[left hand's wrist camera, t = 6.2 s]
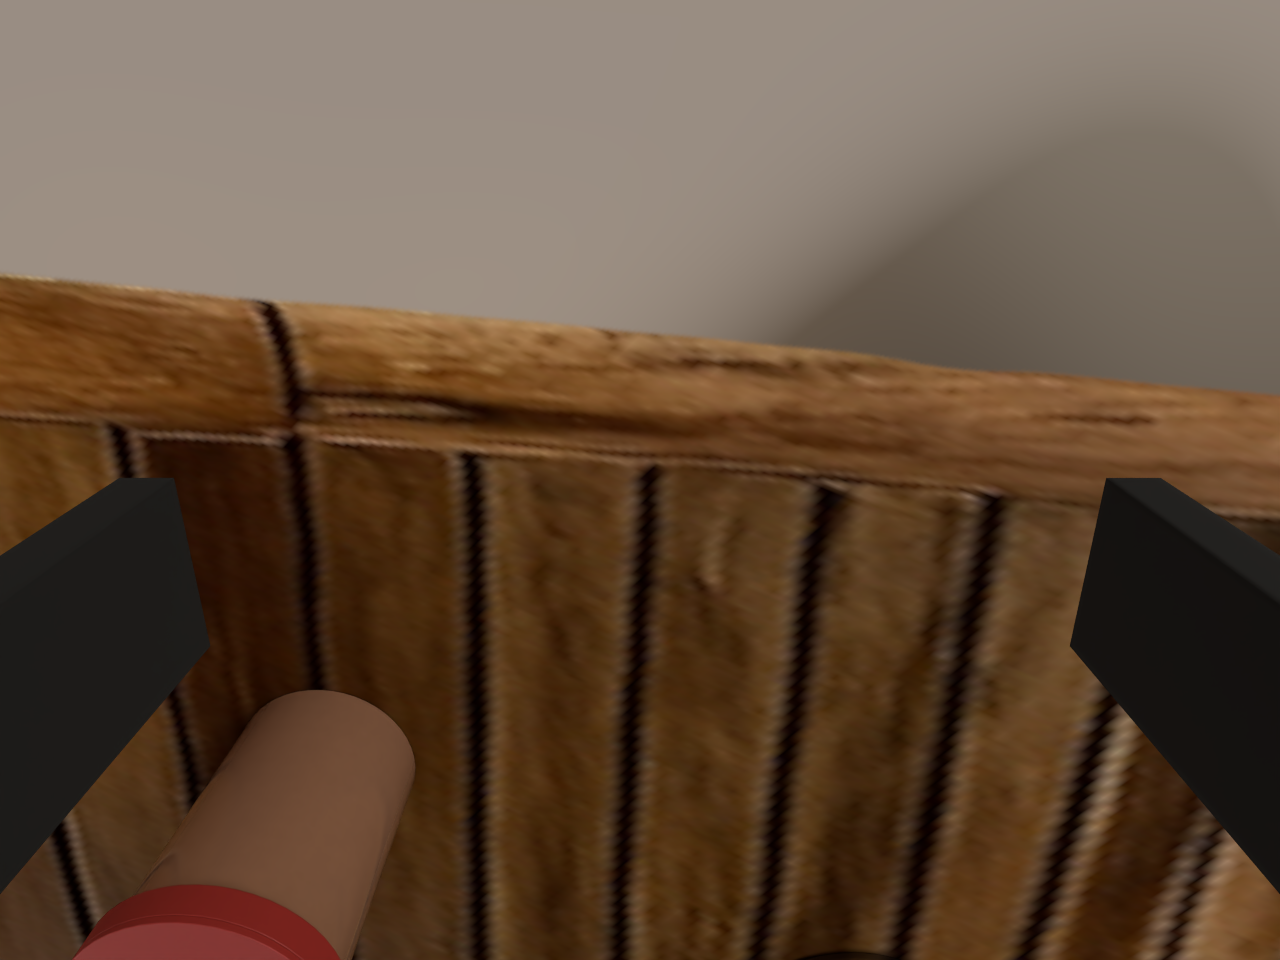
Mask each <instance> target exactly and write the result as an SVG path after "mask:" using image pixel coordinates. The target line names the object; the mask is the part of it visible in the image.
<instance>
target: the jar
mask: <svg viewBox="0 0 1280 960" xmlns="http://www.w3.org/2000/svg"><path fill="white" fill-rule="evenodd" d="M414 778H415V761H414V755H413V752H412V749H411V746H410V744H409V742H408V740H407V738H406V736H405V735H404V733H403V732H402V730H401V729H400V728H399V727H398V725H397V724H396V723H395V722H394V721H393V720H392V719H391V718H390V717H389V716H388V715H387V714H385V713H384V712H383V711H381V710H380V709H378V708H377V707H375V706H374V705H372V704H370V703H368V702H366V701H364V700H362V699H359V698H357V697H355V696H351V695H348V694H345V693H340V692H335V691H328V690H306V691H298V692H294V693H290V694H286V695H284V696H281V697H279V698H276V699H275V700H273V701H271V702H269V703H267V704H266V705H265V706H263V707H262V708H261V709H260V710H259V711H258V712H257V713H256V714H255V715H254V716H253V717H252V718H251V720H250V721H249V723H248V724H247V726H246V727H245V729H244V730H243V732H242V733H241V735H240V736H239V738H238V739H237V741H236V742H235V744H234V745H233V747H232V748H231V750H230V751H229V753H228V754H227V756H226V757H225V759H224V760H223V762H222V763H221V765H220V766H219V768H218V769H217V771H216V772H215V773H214V775H213V776H212V778H211V779H210V781H209V782H208V784H207V785H206V787H205V788H204V790H203V791H202V793H201V794H200V796H199V797H198V799H197V800H196V802H195V803H194V805H193V806H192V808H191V809H190V811H189V812H188V814H187V815H186V817H185V818H184V820H183V821H182V823H181V824H180V826H179V827H178V829H177V830H176V832H175V833H174V835H173V836H172V838H171V839H170V841H169V842H168V844H167V845H166V847H165V848H164V850H163V851H162V853H161V854H160V856H159V857H158V859H157V860H156V862H155V863H154V865H153V866H152V868H151V869H150V871H149V872H148V873H147V875H146V876H145V878H144V879H143V881H142V882H141V884H140V885H139V887H138V888H137V890H136V891H135V893H134V894H133V896H135V895H138V894H140V893H143V892H146V891H149V890H153V889H157V888H162V887H167V886H176V885H199V884H200V885H212V886H221V887H226V888H232V889H237V890H241V891H244V892H248V893H252V894H255V895H258V896H260V897H263V898H266V899H268V900H271V901H273V902H275V903H277V904H279V905H281V906H283V907H285V908H287V909H289V910H290V911H292V912H294V913H295V914H297V915H298V916H300V917H302V918H303V919H304V920H306V921H307V922H308V923H309V924H311V925H312V926H313V927H315V928H316V929H317V930H318V931H319V932H320V933H321V934H322V935H323V936H324V937H325V938H326V939H327V941H328V942H329V943H330V945H331V946H332V947H333V948H334V950H335V951H336V953H337V955H338V956H339V958H340V960H352V957H353V954H354V951H355V948H356V945H357V943H358V940H359V937H360V934H361V931H362V928H363V926H364V923H365V920H366V917H367V914H368V911H369V908H370V906H371V903H372V900H373V897H374V894H375V891H376V889H377V886H378V883H379V880H380V877H381V874H382V871H383V869H384V866H385V863H386V860H387V857H388V854H389V852H390V849H391V846H392V843H393V840H394V837H395V834H396V832H397V829H398V826H399V823H400V820H401V817H402V815H403V812H404V809H405V806H406V803H407V800H408V797H409V795H410V792H411V789H412V786H413V783H414Z"/></svg>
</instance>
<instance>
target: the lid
mask: <svg viewBox="0 0 1280 960" xmlns="http://www.w3.org/2000/svg"><path fill="white" fill-rule="evenodd" d="M72 960H340V958H339V956H338V955H337V953H336V951H335V950H334V948H333V947H332V946H331V945H330V943H329V942H328V941H327V939H326V938H325V937H324V936H323V935H322V934H321V933H320V932H319V931H318V930H317V929H316V928H315V927H313V926H312V925H311V924H309V923H308V922H307V921H306V920H304V919H303V918H302V917H300V916H298V915H297V914H295V913H294V912H292V911H290V910H289V909H287V908H285V907H283V906H281V905H279V904H277V903H275V902H273V901H271V900H268V899H266V898H263V897H260V896H258V895H255V894H252V893H248V892H244V891H241V890H237V889H232V888H226V887H221V886H212V885H200V884H199V885H176V886H167V887H162V888H157V889H153V890H149V891H146V892H143V893H140V894H138V895H135V896H132V897H131V898H129V899H127V900H125V901H123V902H121V903H119V904H118V905H117V906H115V907H114V908H112V909H111V910H110V911H108V912H107V913H106V914H105V915H104V916H103V917H102V918H101V919H100V920H99V921H98V923H97V924H96V926H95V927H94V929H93V930H92V932H91V933H90V934H89V936H88V937H87V939H86V940H85V942H84V943H83V945H82V946H81V947H80V949H79V950H78V952H77V953H76V955H75V956H74V958H73V959H72Z"/></svg>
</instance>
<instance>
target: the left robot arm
mask: <svg viewBox="0 0 1280 960" xmlns="http://www.w3.org/2000/svg"><path fill="white" fill-rule="evenodd" d="M209 647H210V643H209V638H208V634H207V629H206V625H205V620H204V615H203V611H202V606H201V601H200V597H199V592H198V588H197V583H196V578H195V574H194V569H193V565H192V560H191V555H190V551H189V546H188V542H187V537H186V532H185V528H184V523H183V519H182V514H181V509H180V505H179V500H178V495H177V491H176V486H175V482H174V478H119V479H117V480H116V481H114V482H113V483H111V484H110V485H108V486H106V487H105V488H103V489H102V490H100V491H99V492H97V493H96V494H94V495H93V496H91V497H90V498H88V499H87V500H85V501H83V502H82V503H80V504H79V505H77V506H76V507H74V508H73V509H71V510H70V511H68V512H67V513H65V514H64V515H62V516H60V517H59V518H57V519H56V520H54V521H53V522H51V523H50V524H48V525H47V526H45V527H44V528H42V529H41V530H39V531H37V532H36V533H34V534H33V535H31V536H30V537H28V538H27V539H25V540H24V541H22V542H21V543H19V544H18V545H16V546H15V547H13V548H11V549H10V550H8V551H7V552H5V553H4V554H2V555H1V556H0V894H1V892H2V891H3V890H4V889H5V888H6V887H7V885H8V884H9V883H10V882H11V881H12V879H13V878H14V877H15V876H16V875H17V874H18V872H19V871H20V870H21V869H22V868H23V866H24V865H25V864H26V863H27V862H28V861H29V859H30V858H31V857H32V856H33V855H34V853H35V852H36V851H37V850H38V849H39V848H40V846H41V845H42V844H43V843H44V842H45V840H46V839H47V838H48V837H49V836H50V835H51V833H52V832H53V831H54V830H55V829H56V827H57V826H58V825H59V824H60V823H61V822H62V820H63V819H64V818H65V817H66V816H67V814H68V813H69V812H70V811H71V810H72V809H73V807H74V806H75V805H76V804H77V803H78V801H79V800H80V799H81V798H82V797H83V796H84V794H85V793H86V792H87V791H88V790H89V788H90V787H91V786H92V785H93V784H94V783H95V781H96V780H97V779H98V778H99V777H100V775H101V774H102V773H103V772H104V771H105V770H106V768H107V767H108V766H109V765H110V764H111V762H112V761H113V760H114V759H115V758H116V757H117V755H118V754H119V753H120V752H121V751H122V750H123V748H124V747H125V746H126V745H127V744H128V742H129V741H130V740H131V739H132V738H133V737H134V735H135V734H136V733H137V732H138V731H139V729H140V728H141V727H142V726H143V725H144V724H145V722H146V721H147V720H148V719H149V718H150V716H151V715H152V714H153V713H154V712H155V711H156V709H157V708H158V707H159V706H160V705H161V703H162V702H163V701H164V700H165V699H166V698H167V696H168V695H169V694H170V693H171V692H172V690H173V689H174V688H175V687H176V686H177V685H178V683H179V682H180V681H181V680H182V679H183V677H184V676H185V675H186V674H187V673H188V672H189V670H190V669H191V668H192V667H193V666H194V664H195V663H196V662H197V661H198V660H199V659H200V657H201V656H202V655H203V654H204V653H205V651H206V650H207V649H208V648H209ZM1070 647H1071V648H1072V649H1073V650H1074V651H1075V653H1076V654H1077V655H1078V656H1079V657H1080V659H1081V660H1082V661H1083V662H1084V663H1085V664H1086V666H1087V667H1088V668H1089V669H1090V670H1091V672H1092V673H1093V674H1094V675H1095V676H1096V677H1097V679H1098V680H1099V681H1100V682H1101V683H1102V685H1103V686H1104V687H1105V688H1106V689H1107V690H1108V692H1109V693H1110V694H1111V695H1112V696H1113V698H1114V699H1115V700H1116V701H1117V702H1118V703H1119V705H1120V706H1121V707H1122V708H1123V709H1124V711H1125V712H1126V713H1127V714H1128V715H1129V716H1130V718H1131V719H1132V720H1133V721H1134V722H1135V724H1136V725H1137V726H1138V727H1139V728H1140V729H1141V731H1142V732H1143V733H1144V734H1145V735H1146V737H1147V738H1148V739H1149V740H1150V741H1151V742H1152V744H1153V745H1154V746H1155V747H1156V748H1157V750H1158V751H1159V752H1160V753H1161V754H1162V755H1163V757H1164V758H1165V759H1166V760H1167V761H1168V762H1169V764H1170V765H1171V766H1172V767H1173V768H1174V770H1175V771H1176V772H1177V773H1178V774H1179V775H1180V777H1181V778H1182V779H1183V780H1184V781H1185V783H1186V784H1187V785H1188V786H1189V787H1190V788H1191V790H1192V791H1193V792H1194V793H1195V794H1196V796H1197V797H1198V798H1199V799H1200V800H1201V801H1202V803H1203V804H1204V805H1205V806H1206V807H1207V809H1208V810H1209V811H1210V812H1211V813H1212V814H1213V816H1214V817H1215V818H1216V819H1217V820H1218V822H1219V823H1220V824H1221V825H1222V826H1223V827H1224V829H1225V830H1226V831H1227V832H1228V833H1229V835H1230V836H1231V837H1232V838H1233V839H1234V840H1235V842H1236V843H1237V844H1238V845H1239V846H1240V848H1241V849H1242V850H1243V851H1244V852H1245V853H1246V855H1247V856H1248V857H1249V858H1250V859H1251V861H1252V862H1253V863H1254V864H1255V865H1256V866H1257V868H1258V869H1259V870H1260V871H1261V872H1262V874H1263V875H1264V876H1265V877H1266V878H1267V879H1268V881H1269V882H1270V883H1271V884H1272V885H1273V887H1274V888H1275V889H1276V890H1277V891H1278V892H1279V894H1280V556H1279V555H1278V554H1276V553H1275V552H1273V551H1272V550H1270V549H1269V548H1267V547H1265V546H1264V545H1262V544H1261V543H1259V542H1258V541H1256V540H1255V539H1253V538H1252V537H1250V536H1249V535H1247V534H1246V533H1244V532H1243V531H1241V530H1239V529H1238V528H1236V527H1235V526H1233V525H1232V524H1230V523H1229V522H1227V521H1226V520H1224V519H1223V518H1221V517H1220V516H1218V515H1216V514H1215V513H1213V512H1212V511H1210V510H1209V509H1207V508H1206V507H1204V506H1203V505H1201V504H1200V503H1198V502H1197V501H1195V500H1193V499H1192V498H1190V497H1189V496H1187V495H1186V494H1184V493H1183V492H1181V491H1180V490H1178V489H1177V488H1175V487H1174V486H1172V485H1170V484H1169V483H1167V482H1166V481H1164V480H1163V479H1161V478H1106V482H1105V486H1104V491H1103V495H1102V500H1101V505H1100V509H1099V514H1098V519H1097V523H1096V528H1095V532H1094V537H1093V542H1092V546H1091V551H1090V555H1089V560H1088V565H1087V569H1086V574H1085V578H1084V583H1083V588H1082V592H1081V597H1080V601H1079V606H1078V611H1077V615H1076V620H1075V625H1074V629H1073V634H1072V638H1071V643H1070ZM806 960H899V959H895V958H892V957H888V956H882V955H877V954H868V953H839V954H829V955H824V956H818V957H814V958H810V959H806Z"/></svg>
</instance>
